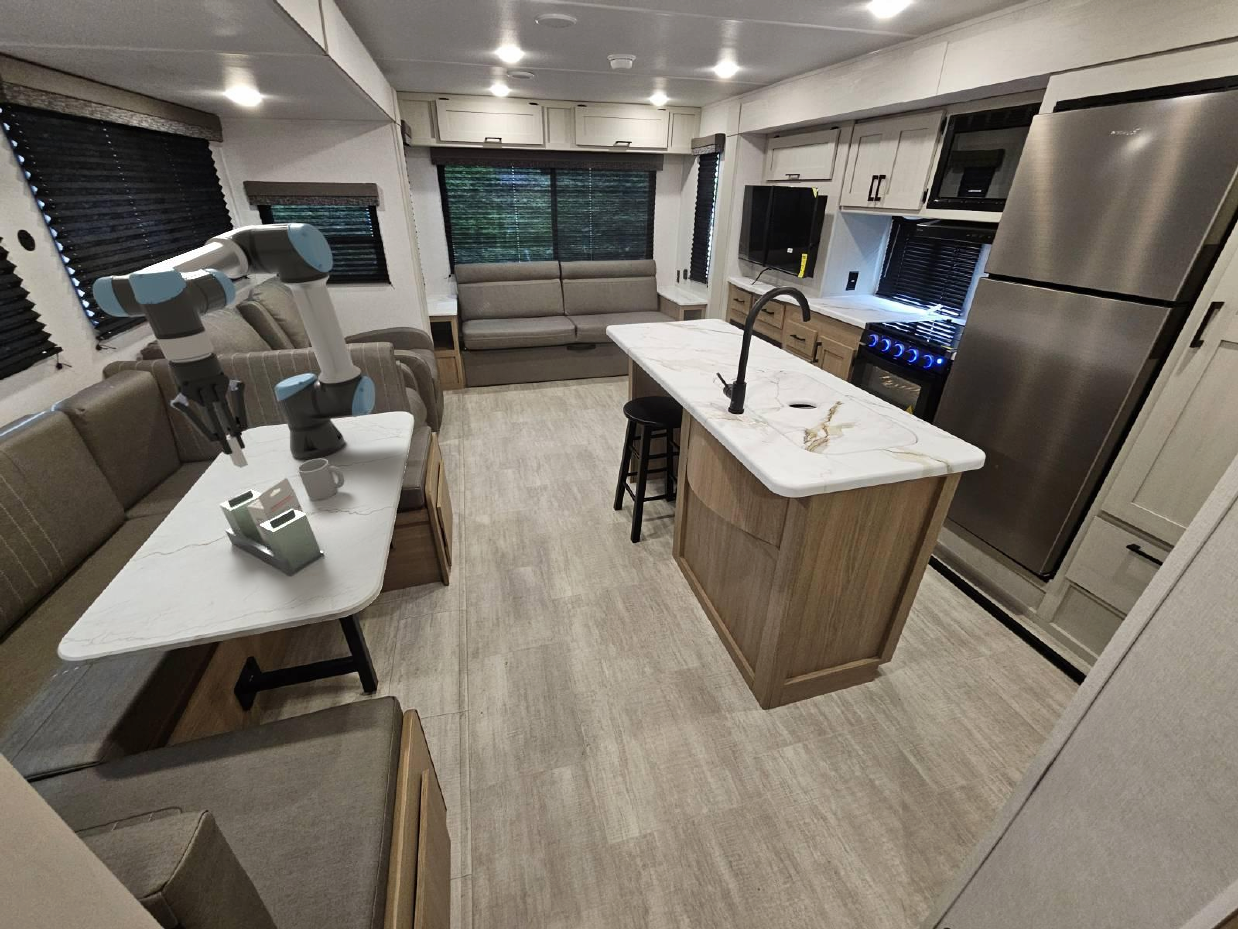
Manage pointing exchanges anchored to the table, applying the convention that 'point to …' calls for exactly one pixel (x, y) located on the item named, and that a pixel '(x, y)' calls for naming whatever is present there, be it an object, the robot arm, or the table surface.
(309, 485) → the cup
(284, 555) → the double block cradle
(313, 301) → the robot arm
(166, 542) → the table surface
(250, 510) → the ink cartridge box
